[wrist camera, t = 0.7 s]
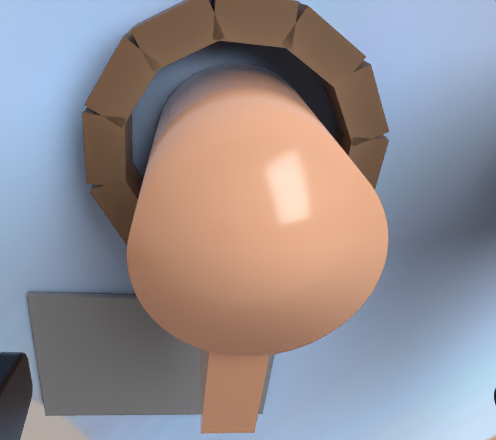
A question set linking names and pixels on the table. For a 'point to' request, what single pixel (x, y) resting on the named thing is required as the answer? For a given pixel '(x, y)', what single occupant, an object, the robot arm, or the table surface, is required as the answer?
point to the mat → (112, 358)
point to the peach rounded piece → (250, 232)
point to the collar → (204, 34)
